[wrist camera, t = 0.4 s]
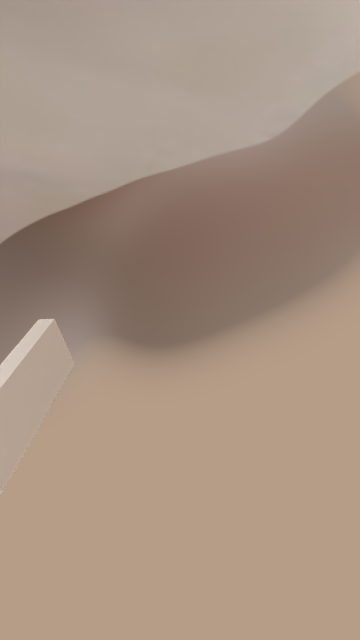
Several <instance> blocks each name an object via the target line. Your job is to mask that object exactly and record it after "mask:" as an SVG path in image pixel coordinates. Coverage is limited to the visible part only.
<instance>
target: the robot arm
mask: <svg viewBox="0 0 360 640" xmlns="http://www.w3.org/2000/svg"><path fill="white" fill-rule="evenodd" d="M74 365H75V363H74V361H73V359H72V357H71V354H70V352H69V350H68V348H67V345H66V343H65V341H64V339H63V337H62V334H61V332H60V330H59V328H58V326H57V324H56V322H55V320H54V319H39V320H38V321H37V322H36V323H35V324H34V326H33V327H32V328H31V329H30V330H29V332H28V333H27V334H26V335H25V336H24V337H23V339H22V340H21V341H20V342H19V343H18V345H17V346H16V347H15V348H14V349H13V350H12V352H11V353H10V354H9V355H8V356H7V358H6V359H5V360H4V361H3V362H2V364H1V365H0V495H1V493H2V491H3V490H4V488H5V486H6V484H7V483H8V481H9V479H10V477H11V475H12V474H13V472H14V470H15V468H16V467H17V465H18V463H19V461H20V460H21V458H22V456H23V454H24V453H25V451H26V449H27V447H28V446H29V444H30V442H31V440H32V439H33V437H34V435H35V433H36V432H37V430H38V428H39V426H40V425H41V423H42V421H43V419H44V418H45V416H46V414H47V412H48V411H49V409H50V407H51V405H52V404H53V402H54V400H55V398H56V396H57V395H58V393H59V391H60V389H61V388H62V386H63V384H64V383H65V381H66V379H67V377H68V375H69V373H70V372H71V370H72V369H73V367H74Z"/></svg>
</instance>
